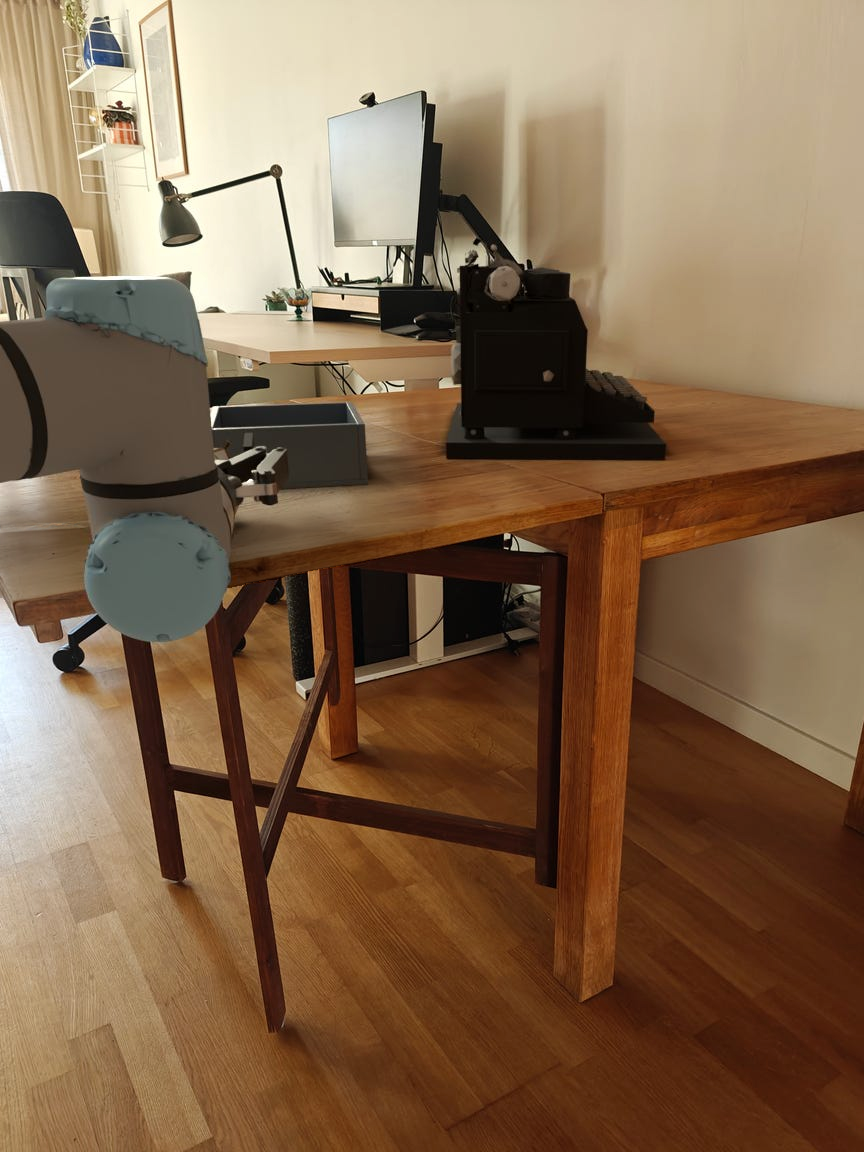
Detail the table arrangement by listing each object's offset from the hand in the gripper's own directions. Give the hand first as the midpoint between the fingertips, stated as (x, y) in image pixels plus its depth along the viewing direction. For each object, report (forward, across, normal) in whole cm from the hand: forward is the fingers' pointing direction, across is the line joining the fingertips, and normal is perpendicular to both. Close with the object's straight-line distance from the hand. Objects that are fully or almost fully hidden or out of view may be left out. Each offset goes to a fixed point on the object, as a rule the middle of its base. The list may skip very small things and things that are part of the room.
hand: (200, 449), depth 81 cm
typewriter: (+32, +44, -7) cm, 55 cm away
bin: (+17, +8, -6) cm, 20 cm away
